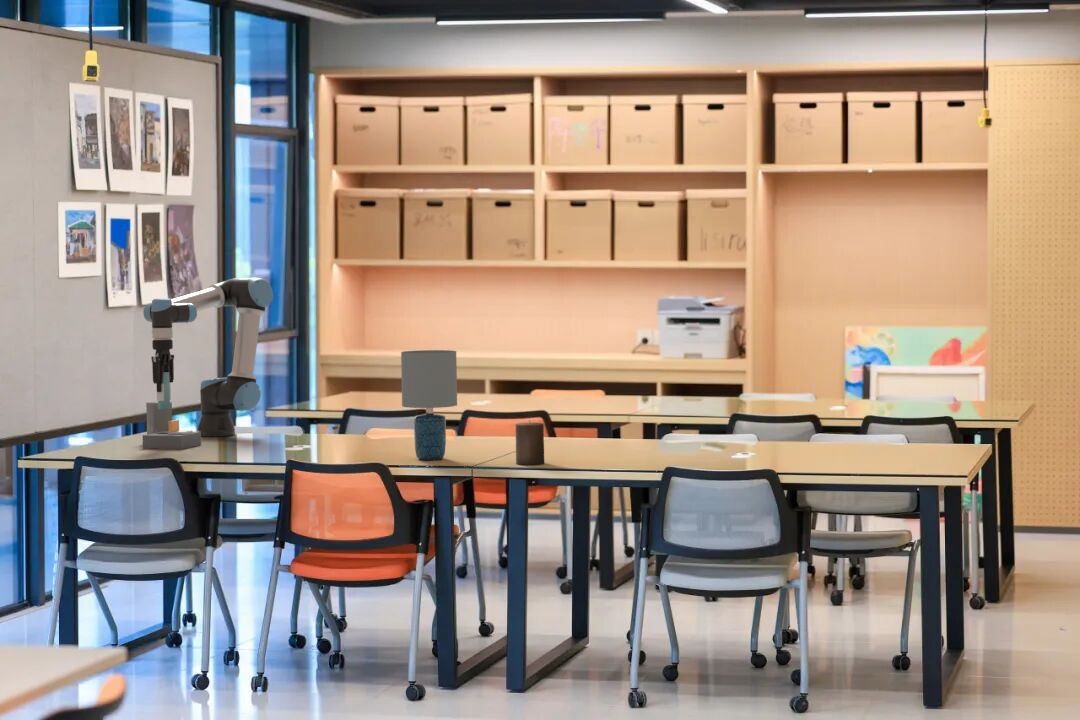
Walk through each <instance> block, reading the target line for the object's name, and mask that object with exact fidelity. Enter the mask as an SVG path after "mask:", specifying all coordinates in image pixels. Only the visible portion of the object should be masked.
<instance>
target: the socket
mask: <svg viewBox="0 0 1080 720" xmlns="http://www.w3.org/2000/svg"><path fill="white" fill-rule="evenodd" d="M168 432H169V431H161V432H156V433H151V434H147V433H146V434H143V435H141V436H142V449H145V448H167V449H166V450H184V449H188V447H189V448H191V447H192V446H193V447H196V446H201V445H202V436H201V432H197V431H192V433H187V434H168Z"/></svg>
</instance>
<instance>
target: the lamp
mask: <svg viewBox="0 0 1080 720" xmlns="http://www.w3.org/2000/svg"><path fill="white" fill-rule="evenodd" d="M400 357H401V358H400V360H401V361H400V362H401V363H400V364H401V365H400V367H401V370H400V371H401V406H402V407H403V408H413V409H425V413H423V414H419V415H414V417H413V431H414V432H413V434H414V437H413V438H414V450H415V451H414V452H415V456H416V458H417V459H418V460H420V459H421V461H437V460H442V459H443V458H445V453H446V443H447V441H446V440H447V421H446V416H445V415H443V414H438V413H434V409H436V408H437V409H438V408H439V409H442V408H450V407H451V408H452V407H455V406H458V381H457V380H458V379H457V378H458V376H457V373H458V372H457V367H458V366H457V350H452V349H450V350H449V349H448V350H444V349H441V350H439V349H433V350H432V349H431V350H429V349H428V350H427V349H426V350H423V349H421V350H407V351H406V350H405V351H401V352H400Z"/></svg>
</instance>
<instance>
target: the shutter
mask: <svg viewBox="0 0 1080 720" xmlns="http://www.w3.org/2000/svg"><path fill="white" fill-rule="evenodd" d="M168 424H169V432H168V434H187V433H192V432H193V430H192V429H191V430H190V429H189V430H188V429H180V420H179V419H174V420H173V419H172V421H168Z"/></svg>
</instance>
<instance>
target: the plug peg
mask: <svg viewBox="0 0 1080 720" xmlns="http://www.w3.org/2000/svg"><path fill="white" fill-rule="evenodd" d="M162 384H164V401H157V402H158V409H160V410H165V409H170V402H171V400H170V385H171V382H170V383H169V372H163V383H162Z"/></svg>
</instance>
